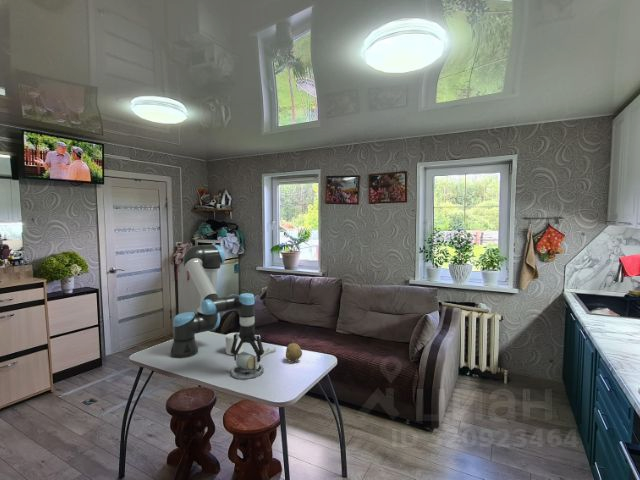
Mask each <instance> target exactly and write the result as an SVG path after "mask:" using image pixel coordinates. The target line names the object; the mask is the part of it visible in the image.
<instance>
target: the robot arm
mask: <svg viewBox="0 0 640 480" xmlns="http://www.w3.org/2000/svg"><path fill="white" fill-rule="evenodd" d="M182 261H183V262H182V264H183V266H184V269H185V271H187V272H188V273H189V275H190V276H191V279H192V281H193V283H194V284H195V286H196V289H197V290H198V293H199V295H200V301H199V302H200V305H199V307H198V308H196V309H197V311H196V313H195V312H193V311H187V312H186V311H185V312H181V313H178V314H176V315H175V316H174V318H173V323H172V326H173V328H172V329H173V330H172V334H173V343H172V345H171V348H170V353H169V354H170V357H172V358H176V359H184V358H190V357H194V356H195V355H196V354H198V352H199V346H198V344H197V342H196V337H195V335H196V334H200V333H205V332H211V331H213V330H214V331H215V330H216V329H217V328H219V326H220V322H221V314H220V313H224V312H225V313H227V312H231V311H238V312H239V313H238V314H239V316H238V317H239V333H240V334H237V333H238V332H235V333H236V334H235V335H234V341H233V345H232V348H231V353H233V354H234V355H233V359H234V361H235V366H236V368H238V367H239V366H238V365H237V362H236V361H237V357H238V355H239V353H238V352H239V350H240V348H241V346H242V344H243V342H244V344H245V343H247V344H250V345H251V347H252V349H253V351H254V353H255V354H256V355H254V356H255V366H256V369H258V367H259V364H260V362H261V359H260V355H263V354H264V350H265V349H264V347H263V342H262V340H261V339H262V338H261V337H262V335H261V334H255V330H256V329H255V323H256V322H255V320H256V319H255V309H256V308H255V303H256V302H255V295H254V294H253V293H251V292H250V293H249V292H247V293H245V292H244V293H240V294H237V293H236V294H235V293H232V294H231V293H230V295H228V296H221V297H219V295H218V293H217V281H218V271H219V270H220V269H221V265H223V264H224V263H225V261H226V255H225V250H224V248H223V247H222V246H221V245H219V244H205V245H204V244H201V245H199V244H196V245H193V246H191V247H189V248H188V249H187V250H186V251H185V253H184V254H183V256H182ZM239 337H240V339H241V341H240V343H239V345H238V347H237V349H236V350H235V348H236V344H237V340H238V338H239ZM255 340H256V341H255Z"/></svg>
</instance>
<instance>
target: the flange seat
mask: <svg viewBox="0 0 640 480" xmlns="http://www.w3.org/2000/svg"><path fill="white" fill-rule="evenodd" d="M264 371H265V368H264V366H263V364H260V363H259V367H258V369H256V366H255V367H254V368H253V369H252V370H247V369H244V368H241V367H238V368H236V365H234V366H233V367H232V368H231V369H230V374H231V377H233V378H234V379H236V380H251V379H256V378H259V377H260V376H261V375H263V373H264Z"/></svg>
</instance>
